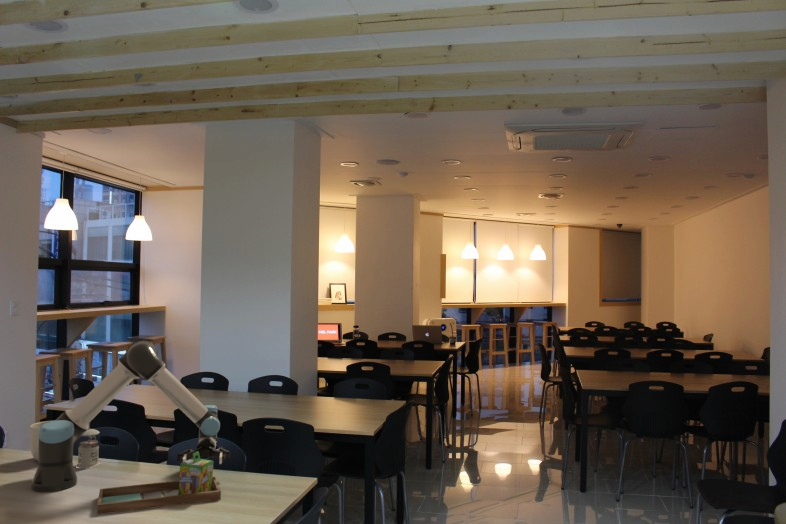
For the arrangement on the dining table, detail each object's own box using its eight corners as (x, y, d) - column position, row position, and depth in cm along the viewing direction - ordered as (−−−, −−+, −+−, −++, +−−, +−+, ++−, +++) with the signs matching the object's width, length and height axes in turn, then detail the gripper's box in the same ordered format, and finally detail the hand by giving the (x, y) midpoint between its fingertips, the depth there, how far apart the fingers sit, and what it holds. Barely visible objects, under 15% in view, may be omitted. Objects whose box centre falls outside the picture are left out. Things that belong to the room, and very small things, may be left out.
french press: (71, 469, 250) (74, 408, 251) (80, 461, 261) (82, 403, 263) (97, 468, 252) (99, 408, 253) (104, 460, 263) (106, 403, 264)
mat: (102, 498, 215) (102, 497, 215) (140, 494, 220) (140, 493, 220) (100, 511, 202) (100, 510, 202) (140, 507, 207) (140, 505, 207)
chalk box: (200, 498, 215) (203, 456, 216) (177, 495, 217) (180, 454, 218) (212, 491, 224) (215, 451, 226) (190, 488, 226) (193, 448, 227)
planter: (52, 452, 276) (54, 418, 276) (81, 456, 270) (82, 421, 271) (18, 462, 260) (20, 426, 261) (48, 466, 254) (49, 429, 255)
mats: (143, 494, 220) (143, 492, 220) (180, 490, 225) (180, 488, 225) (143, 506, 207) (143, 505, 207) (183, 502, 213) (183, 500, 213)
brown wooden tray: (99, 497, 216) (100, 488, 217) (214, 484, 232) (214, 476, 232) (96, 514, 200) (97, 505, 200) (220, 499, 216) (220, 490, 216)
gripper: (236, 455, 255) (235, 469, 234) (174, 458, 249) (167, 473, 228) (237, 437, 255) (235, 450, 234) (175, 440, 249) (168, 453, 229)
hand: (202, 461), depth 231 cm, fingers open, 13 cm apart
